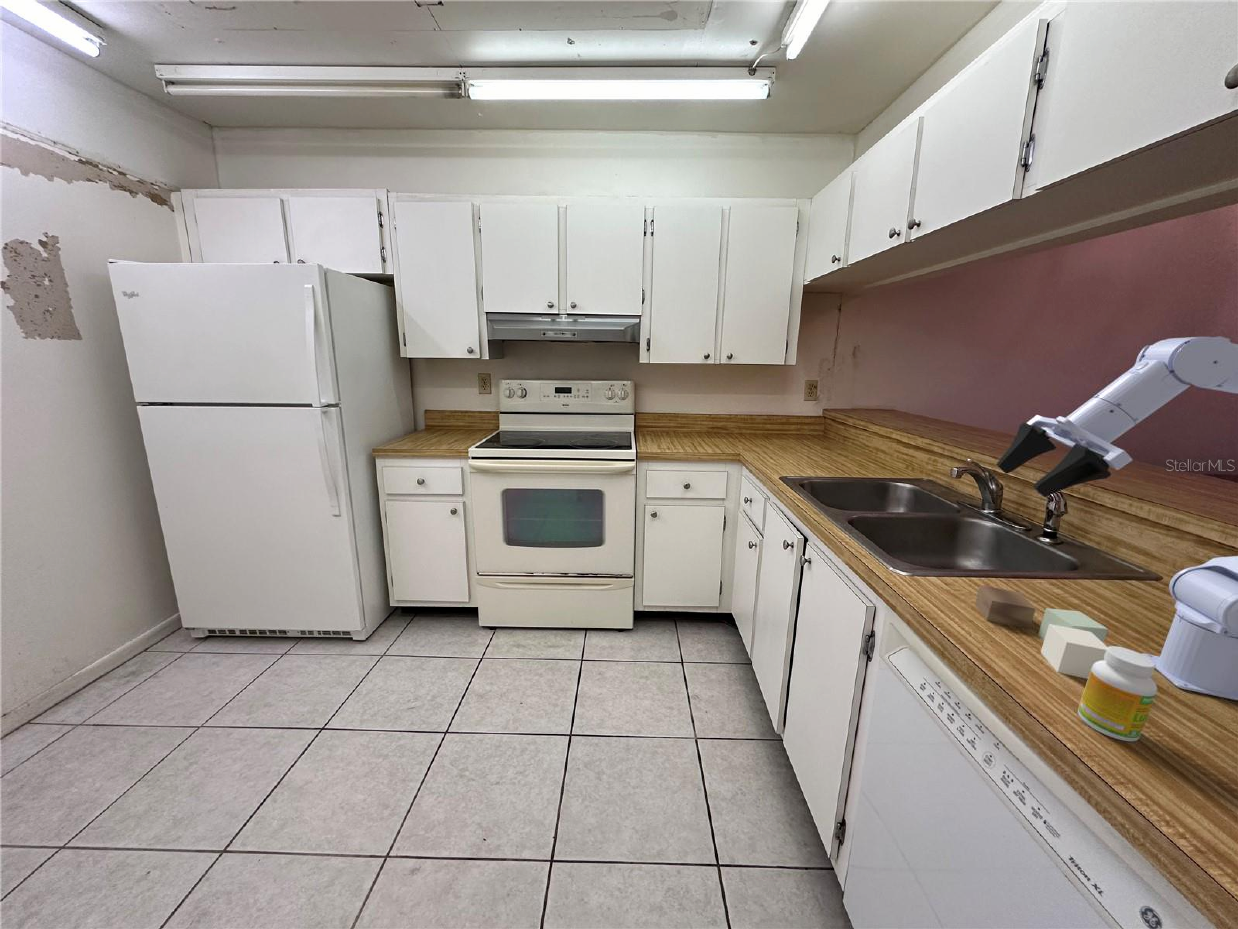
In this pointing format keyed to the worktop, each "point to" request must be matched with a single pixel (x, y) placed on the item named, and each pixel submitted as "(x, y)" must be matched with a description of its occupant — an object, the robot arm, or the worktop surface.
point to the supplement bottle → (1119, 694)
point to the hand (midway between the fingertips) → (1019, 480)
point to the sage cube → (1071, 622)
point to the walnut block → (1005, 606)
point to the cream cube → (1072, 650)
